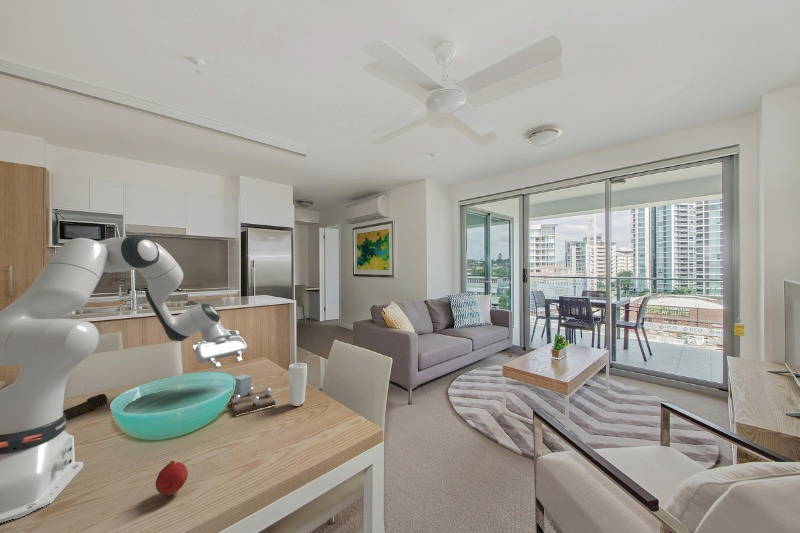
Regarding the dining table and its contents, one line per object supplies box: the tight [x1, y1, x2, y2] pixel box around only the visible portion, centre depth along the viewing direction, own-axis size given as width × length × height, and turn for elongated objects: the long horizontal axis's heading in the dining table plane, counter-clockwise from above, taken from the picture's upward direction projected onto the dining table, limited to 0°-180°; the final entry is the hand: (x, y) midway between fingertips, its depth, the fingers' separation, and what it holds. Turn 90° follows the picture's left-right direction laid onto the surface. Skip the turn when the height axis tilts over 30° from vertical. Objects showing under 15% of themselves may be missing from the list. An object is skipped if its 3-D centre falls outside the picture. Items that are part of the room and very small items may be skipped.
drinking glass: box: [288, 362, 308, 405], centre depth 115 cm, size 7×7×15 cm
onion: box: [154, 458, 189, 497], centre depth 68 cm, size 6×6×8 cm
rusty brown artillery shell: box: [63, 393, 108, 421], centre depth 105 cm, size 19×4×5 cm, turn 172°
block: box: [233, 374, 252, 396], centre depth 122 cm, size 4×4×8 cm
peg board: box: [230, 386, 276, 416], centre depth 114 cm, size 13×13×5 cm
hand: (229, 364), depth 126 cm, fingers open, 8 cm apart
